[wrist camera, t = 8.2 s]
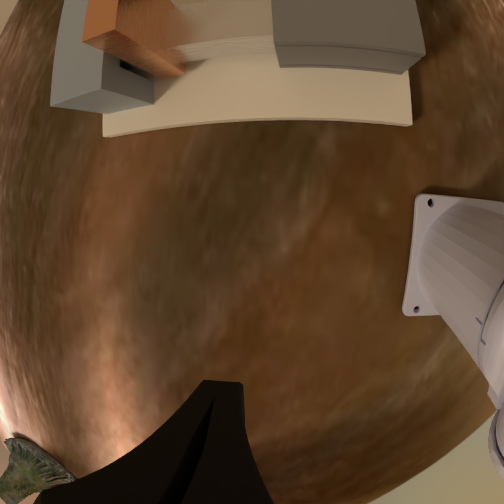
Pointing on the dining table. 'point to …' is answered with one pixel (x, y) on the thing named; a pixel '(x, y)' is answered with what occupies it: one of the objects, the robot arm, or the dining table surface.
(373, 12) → the cream rectangular panel
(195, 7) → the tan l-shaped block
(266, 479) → the dining table surface
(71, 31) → the socket block
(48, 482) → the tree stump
